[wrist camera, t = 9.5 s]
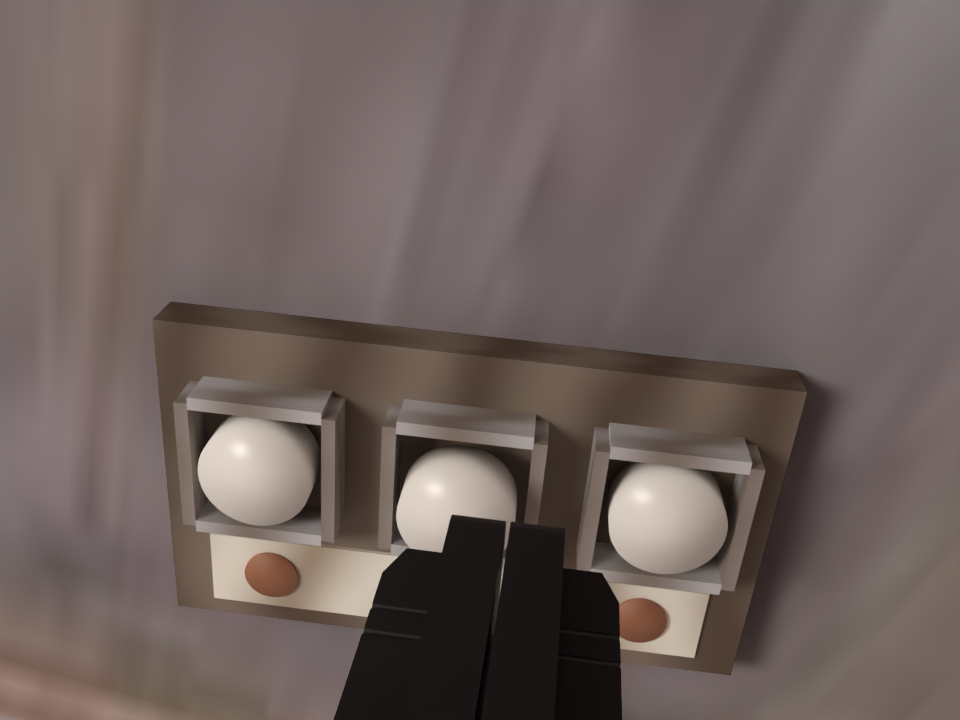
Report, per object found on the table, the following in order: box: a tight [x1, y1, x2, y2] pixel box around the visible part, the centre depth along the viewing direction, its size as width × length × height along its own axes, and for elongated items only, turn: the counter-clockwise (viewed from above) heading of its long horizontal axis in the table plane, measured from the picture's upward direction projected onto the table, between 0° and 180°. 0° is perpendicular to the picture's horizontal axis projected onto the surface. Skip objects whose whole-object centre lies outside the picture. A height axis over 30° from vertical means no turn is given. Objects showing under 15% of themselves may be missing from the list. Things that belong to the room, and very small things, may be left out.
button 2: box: [607, 462, 728, 574], centre depth 40 cm, size 5×5×2 cm
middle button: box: [396, 445, 517, 553], centre depth 39 cm, size 5×5×2 cm
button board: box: [153, 302, 807, 675], centre depth 42 cm, size 28×16×4 cm, turn 85°
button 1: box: [198, 415, 321, 526], centre depth 41 cm, size 5×5×2 cm
